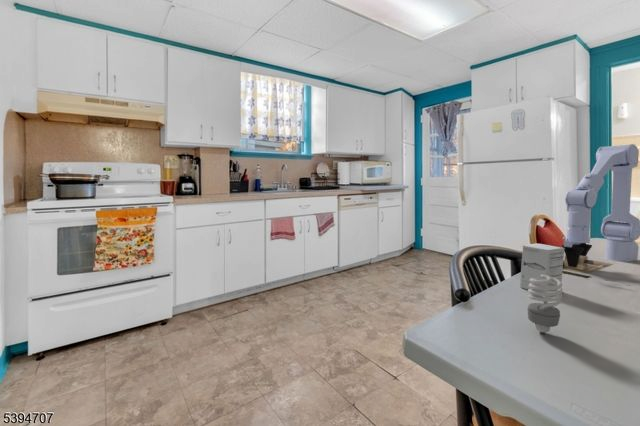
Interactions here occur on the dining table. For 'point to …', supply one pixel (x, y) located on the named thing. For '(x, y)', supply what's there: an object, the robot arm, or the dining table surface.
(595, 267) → the board
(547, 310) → the light bulb
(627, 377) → the dining table surface
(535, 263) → the supplement box
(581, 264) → the marking gauge
